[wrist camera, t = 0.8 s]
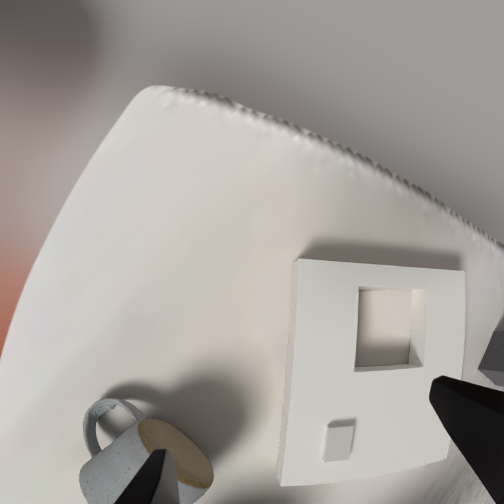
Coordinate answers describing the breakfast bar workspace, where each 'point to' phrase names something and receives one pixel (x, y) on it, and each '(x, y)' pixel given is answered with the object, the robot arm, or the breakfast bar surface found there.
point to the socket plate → (364, 374)
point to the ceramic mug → (138, 456)
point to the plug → (494, 359)
